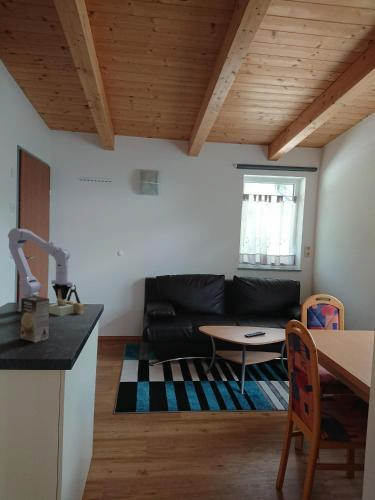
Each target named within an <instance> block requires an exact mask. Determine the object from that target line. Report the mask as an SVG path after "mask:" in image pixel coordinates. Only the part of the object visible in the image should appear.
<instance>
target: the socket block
mask: <svg viewBox="0 0 375 500" xmlns="http://www.w3.org/2000/svg"><path fill="white" fill-rule="evenodd" d="M49 314H52V315H55V316H60V317H61V316H66V315H70V314H71V315H72V314H75V313H74V305H70V304H65V305H64V306H58V304H57V303H54V304H49Z"/></svg>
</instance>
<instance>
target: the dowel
mask: <svg viewBox="0 0 375 500" xmlns="http://www.w3.org/2000/svg"><path fill="white" fill-rule="evenodd" d="M57 300H58V306H64V305H65V300H66V299H65V300H62V298H61V290H60V289H59V290H58V299H57Z"/></svg>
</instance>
